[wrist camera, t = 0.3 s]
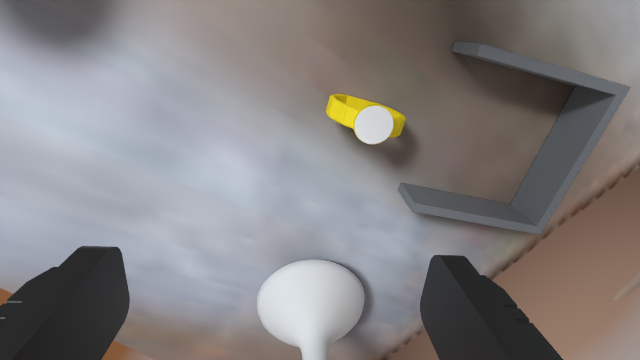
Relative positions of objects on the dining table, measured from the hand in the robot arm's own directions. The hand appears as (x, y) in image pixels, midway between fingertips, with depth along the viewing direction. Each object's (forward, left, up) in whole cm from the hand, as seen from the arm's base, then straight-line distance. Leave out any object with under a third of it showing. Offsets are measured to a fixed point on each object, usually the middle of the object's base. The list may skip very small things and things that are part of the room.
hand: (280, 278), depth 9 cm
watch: (-1, +6, -21) cm, 22 cm away
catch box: (-1, +18, -21) cm, 27 cm away
